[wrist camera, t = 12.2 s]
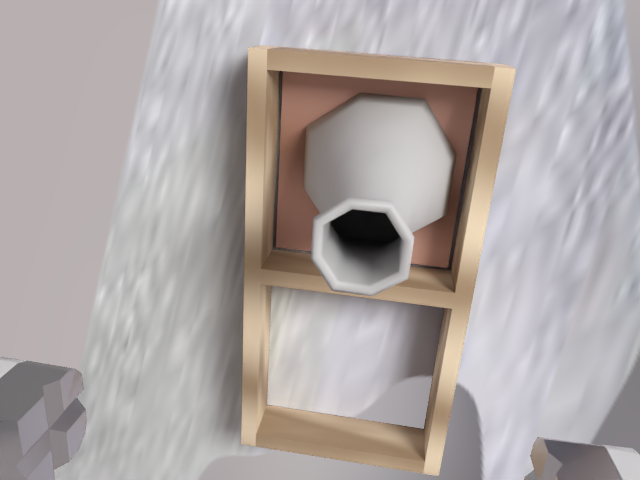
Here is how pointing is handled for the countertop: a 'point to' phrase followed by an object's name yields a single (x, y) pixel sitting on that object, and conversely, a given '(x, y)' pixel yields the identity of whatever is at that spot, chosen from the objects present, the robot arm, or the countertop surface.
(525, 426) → the countertop surface
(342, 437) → the oak caddy
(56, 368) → the robot arm
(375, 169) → the flask
